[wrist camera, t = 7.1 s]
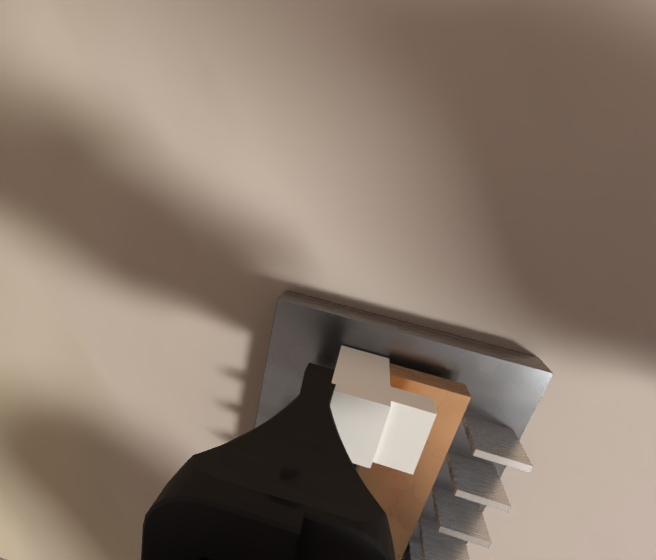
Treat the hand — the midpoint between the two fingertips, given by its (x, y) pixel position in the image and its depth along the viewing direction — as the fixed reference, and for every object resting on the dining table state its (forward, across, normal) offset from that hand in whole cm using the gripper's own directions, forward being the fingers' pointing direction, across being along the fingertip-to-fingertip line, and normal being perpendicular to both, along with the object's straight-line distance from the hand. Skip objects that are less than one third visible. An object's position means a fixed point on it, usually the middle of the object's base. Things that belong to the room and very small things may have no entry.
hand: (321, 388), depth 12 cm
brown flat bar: (+1, -4, +4) cm, 6 cm away
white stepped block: (+1, -1, 0) cm, 2 cm away
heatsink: (+2, -3, +4) cm, 6 cm away
